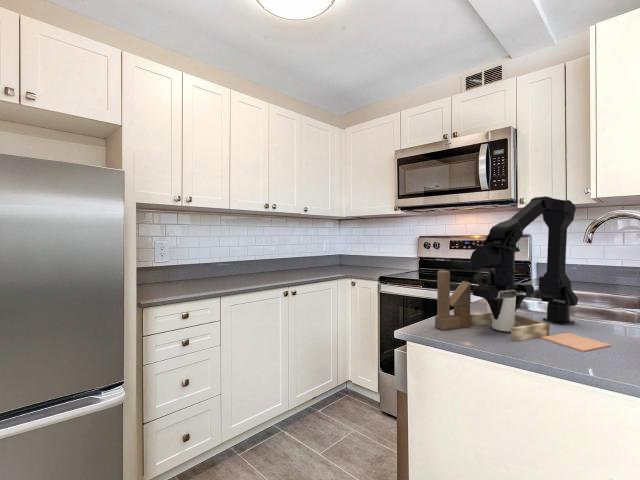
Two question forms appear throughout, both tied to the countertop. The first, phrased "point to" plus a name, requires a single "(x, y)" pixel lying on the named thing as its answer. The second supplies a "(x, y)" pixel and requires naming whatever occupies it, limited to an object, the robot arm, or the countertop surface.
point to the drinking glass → (505, 314)
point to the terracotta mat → (576, 342)
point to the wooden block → (452, 303)
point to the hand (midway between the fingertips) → (503, 318)
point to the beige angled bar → (522, 329)
